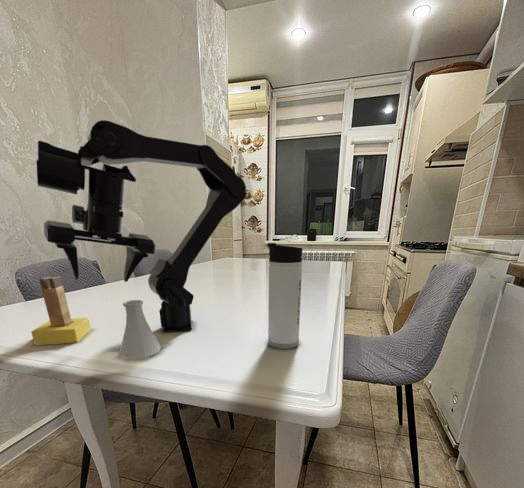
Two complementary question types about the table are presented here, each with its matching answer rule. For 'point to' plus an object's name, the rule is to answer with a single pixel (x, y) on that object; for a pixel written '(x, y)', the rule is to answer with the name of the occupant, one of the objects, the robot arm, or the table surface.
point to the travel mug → (284, 295)
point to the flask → (137, 333)
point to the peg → (55, 301)
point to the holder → (61, 332)
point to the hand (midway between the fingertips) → (102, 280)
